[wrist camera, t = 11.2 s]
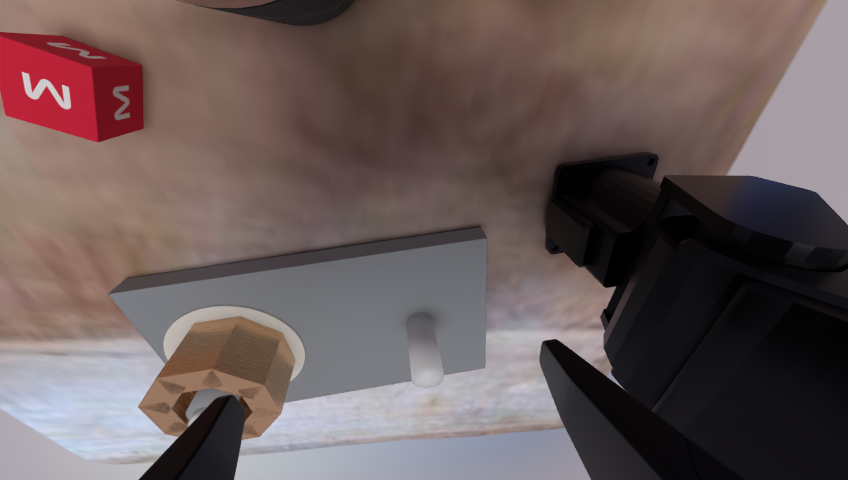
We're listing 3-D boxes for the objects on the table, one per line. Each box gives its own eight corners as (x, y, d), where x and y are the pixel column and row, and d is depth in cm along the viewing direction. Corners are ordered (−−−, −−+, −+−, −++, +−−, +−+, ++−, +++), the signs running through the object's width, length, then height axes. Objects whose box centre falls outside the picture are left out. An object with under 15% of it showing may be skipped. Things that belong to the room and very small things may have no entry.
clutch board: (480, 227, 21) (517, 289, 15) (480, 353, 28) (506, 429, 22) (125, 278, 20) (23, 368, 14) (216, 398, 26) (172, 491, 21)
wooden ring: (207, 302, 19) (170, 355, 16) (310, 343, 22) (297, 395, 19) (166, 366, 22) (126, 425, 18) (264, 396, 24) (245, 451, 21)
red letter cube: (69, 104, 15) (5, 115, 12) (61, 35, 13) (-14, 30, 11) (144, 128, 16) (98, 142, 13) (143, 65, 14) (91, 67, 12)
